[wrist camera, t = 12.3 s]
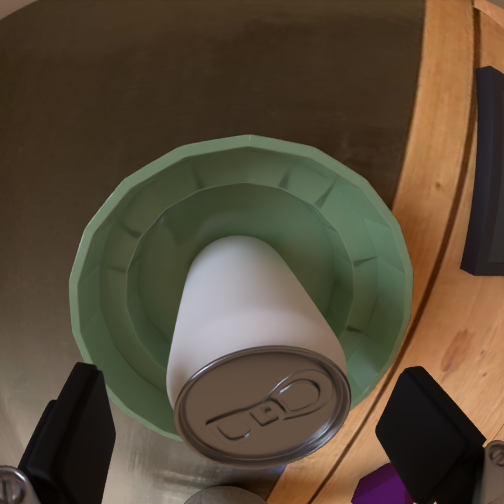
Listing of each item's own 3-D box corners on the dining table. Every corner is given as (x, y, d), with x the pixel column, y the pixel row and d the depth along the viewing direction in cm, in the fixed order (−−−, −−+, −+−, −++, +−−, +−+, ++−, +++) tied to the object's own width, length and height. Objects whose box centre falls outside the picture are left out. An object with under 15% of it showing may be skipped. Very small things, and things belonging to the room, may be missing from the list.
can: (304, 296, 21) (385, 422, 10) (222, 343, 21) (233, 492, 10) (255, 213, 19) (315, 287, 8) (166, 268, 20) (115, 395, 8)
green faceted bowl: (86, 177, 18) (29, 187, 11) (346, 132, 19) (405, 122, 12) (151, 394, 23) (138, 460, 16) (359, 356, 24) (398, 410, 17)
